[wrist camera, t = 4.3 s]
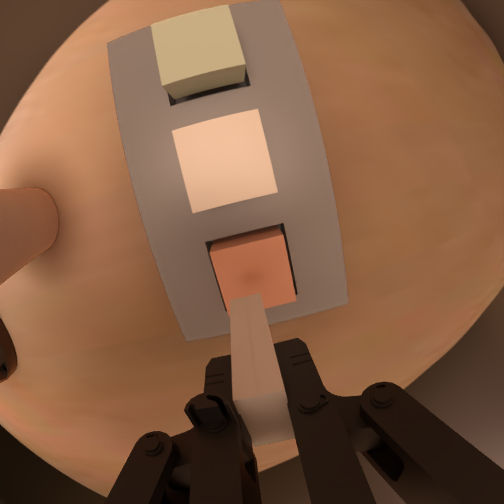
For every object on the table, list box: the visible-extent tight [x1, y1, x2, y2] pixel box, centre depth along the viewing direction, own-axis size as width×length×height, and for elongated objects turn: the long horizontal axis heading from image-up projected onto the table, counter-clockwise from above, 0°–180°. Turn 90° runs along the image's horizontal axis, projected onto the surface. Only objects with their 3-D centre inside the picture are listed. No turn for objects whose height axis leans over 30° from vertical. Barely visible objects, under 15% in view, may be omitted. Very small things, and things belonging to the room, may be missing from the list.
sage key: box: [151, 4, 246, 99], centre depth 14 cm, size 5×5×4 cm
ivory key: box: [172, 109, 278, 213], centre depth 17 cm, size 5×5×4 cm
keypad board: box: [107, 0, 349, 342], centre depth 20 cm, size 14×26×3 cm, turn 13°
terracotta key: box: [210, 225, 296, 317], centre depth 21 cm, size 5×5×4 cm
